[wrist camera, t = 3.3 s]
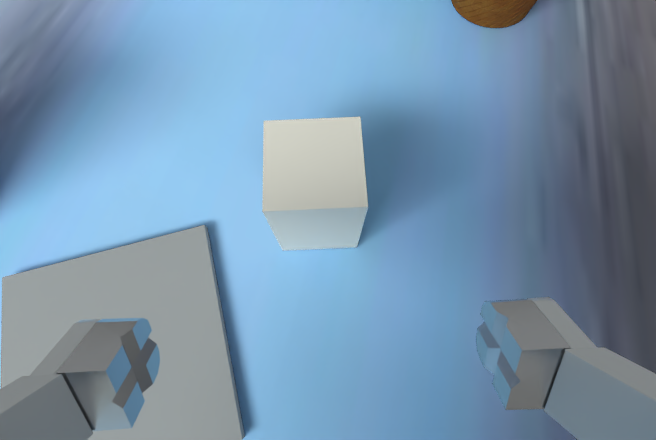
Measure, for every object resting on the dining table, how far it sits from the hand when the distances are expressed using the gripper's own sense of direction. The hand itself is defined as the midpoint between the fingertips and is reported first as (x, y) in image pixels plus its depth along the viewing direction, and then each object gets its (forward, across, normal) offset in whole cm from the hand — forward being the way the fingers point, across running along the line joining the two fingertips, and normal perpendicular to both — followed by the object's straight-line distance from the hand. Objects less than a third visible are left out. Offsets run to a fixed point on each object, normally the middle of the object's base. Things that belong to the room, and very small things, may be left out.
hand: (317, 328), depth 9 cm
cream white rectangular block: (+14, 0, -4) cm, 14 cm away
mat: (+8, -12, -9) cm, 17 cm away
